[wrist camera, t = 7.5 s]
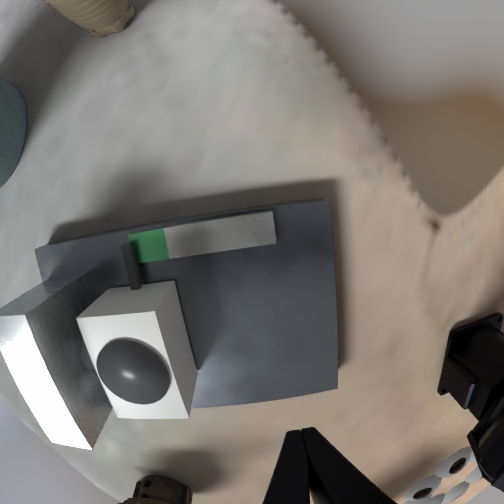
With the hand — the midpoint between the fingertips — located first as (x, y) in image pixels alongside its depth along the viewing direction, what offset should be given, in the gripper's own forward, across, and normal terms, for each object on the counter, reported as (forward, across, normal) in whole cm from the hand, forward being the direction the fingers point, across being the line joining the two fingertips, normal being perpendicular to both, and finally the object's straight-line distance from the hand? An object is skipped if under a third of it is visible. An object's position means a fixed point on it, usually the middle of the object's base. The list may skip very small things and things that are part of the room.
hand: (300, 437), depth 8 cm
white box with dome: (+9, +8, -1) cm, 12 cm away
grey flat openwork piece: (+11, -24, +34) cm, 43 cm away
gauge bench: (+10, +5, 0) cm, 12 cm away
